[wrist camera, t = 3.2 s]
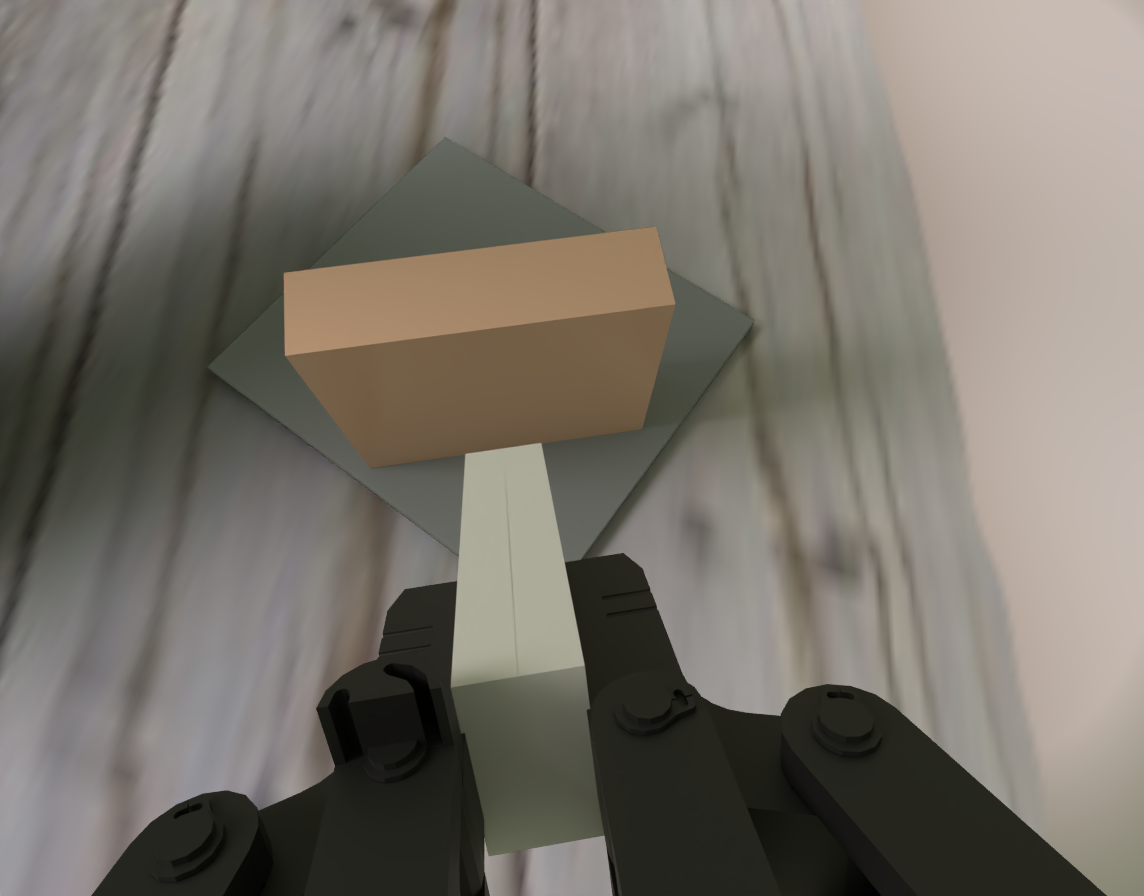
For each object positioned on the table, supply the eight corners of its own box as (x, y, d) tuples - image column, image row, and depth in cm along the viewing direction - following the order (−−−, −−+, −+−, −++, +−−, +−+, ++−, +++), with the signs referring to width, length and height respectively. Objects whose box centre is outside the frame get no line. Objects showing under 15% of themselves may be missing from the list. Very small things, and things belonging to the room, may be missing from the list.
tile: (642, 429, 31) (675, 304, 22) (370, 468, 30) (285, 355, 21) (628, 366, 32) (655, 221, 23) (366, 402, 32) (283, 267, 22)
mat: (212, 372, 33) (206, 366, 32) (447, 145, 38) (445, 136, 37) (540, 617, 29) (539, 615, 28) (751, 326, 34) (754, 320, 33)
